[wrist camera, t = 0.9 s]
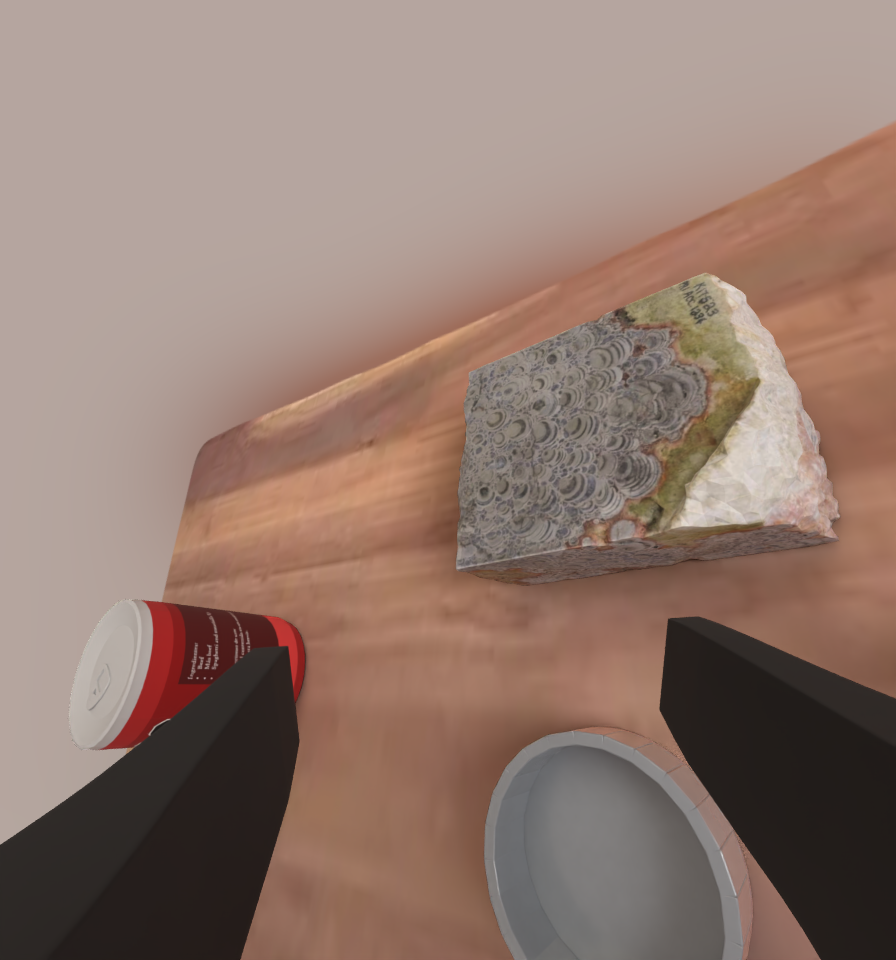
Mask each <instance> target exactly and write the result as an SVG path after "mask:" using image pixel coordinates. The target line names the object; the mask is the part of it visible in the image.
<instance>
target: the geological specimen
mask: <svg viewBox="0 0 896 960" xmlns="http://www.w3.org/2000/svg"><path fill="white" fill-rule="evenodd" d="M464 413H465V422H466V426H467V428H466V433H465V435H466V442H465V445H464V451H463V455H462V459H461V467H460V469H459V471H460V474H461V475H460V479H459V489H458V503H459V509H460V519H459V522H458V533H457V543H458V551H457V557H456V570H457V571H461V572H467V573H471V574H474V575H476V576H478V577H480V578H486V579H495V580H496V581H502V582H506V583H513V584H519V585H534V584H541V583H548V582H556V581H560V580H564V579H575V578H585V577H592V576H598V575H602V574H607V573H616V572H622V571H626V569H645V568H652V567H655V566H667V565H674V564H676V563H679V562H680V561H684V560H688V559H691V558H693V559H699V560H712V559H720V558H727V557H734V556H742V555H749V554H756V553H763V552H770V551H777V550H785V549H792V548H800V547H807V546H813V545H818V544H823V543H829V542H835V541H839V538H838V536H837V535H835V533H834V532H833V530H832V529H831V527H832V524H833V522H834V521H836V520H837V519H838V518H840V515H839V513H838V506H839V505H838V501H837V500H836V499H835V498H834V497H833V488H832V482H831V481H830V480H828V479H827V470H826V464H825V461H824V459H823V457H822V456H821V455H819V443H820V441H821V439H820V433H819V432H818V431H817V430H815V429H814V424H813V422H812V420H811V418H810V417H809V415H808V414H807V413H806V412H805V410H804V409H803V405H802V400H801V393H800V391H799V389H798V387H797V384H796V383H795V381H794V380H793V379H792V378H791V377H790V376H789V374H788V371H787V367H786V364H785V359H784V357H783V356H782V354H781V351H780V350H779V349H778V347H777V346H776V345H775V340H774V338H773V336H772V335H771V333H770V332H769V331H768V330H767V329H765V328H764V327H763V326H762V325H761V323H760V321H759V319H758V317H757V315H756V314H755V312H754V311H753V310H752V309H751V308H750V307H749V305H748V304H747V303H746V295H745V294H743V293H742V292H741V291H740V290H738V289H736V288H735V287H733V286H731V285H729V284H727V283H726V282H723V281H721V280H720V279H719V278H718V277H716V276H715V275H711V274H708V273H703V274H701V275H698V276H695V277H693V278H690V279H688V280H686V281H683V282H681V283H679V284H677V285H674V286H672V287H669V288H667V289H664V290H662V291H660V292H657V293H655V294H652V295H650V296H647V297H645V298H643V299H640V300H638V301H635V302H633V303H631V304H628V305H626V306H623V307H621V308H619V309H616V310H614V311H612V312H609V313H607V314H605V315H603V316H601V317H600V318H598V319H597V320H595V321H590V322H586V323H584V324H581V325H579V326H576V327H574V328H572V329H569V330H567V331H565V332H563V333H560V334H558V335H556V336H553V337H551V338H549V339H546V340H544V341H542V342H539V343H537V344H535V345H532V346H530V347H528V348H525V349H523V350H520V351H518V352H516V353H513V354H511V355H509V356H506V357H504V358H502V359H499V360H497V361H494V362H492V363H489V364H487V365H485V366H482V367H480V368H478V369H476V370H474V371H472V372H469V386H468V389H467V395H466V398H465V401H464Z"/></svg>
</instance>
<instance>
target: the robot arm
mask: <svg viewBox="0 0 896 960" xmlns="http://www.w3.org/2000/svg"><path fill="white" fill-rule="evenodd" d="M659 710H660V712H661V714H662V715H663V717H664V719H665V721H666V723H667V725H668V727H669V729H670V731H671V733H672V735H673V737H674V739H675V741H676V742H677V744H678V746H679V748H680V750H681V751H682V753H683V755H684V757H685V759H686V760H687V762H688V764H689V765H690V767H691V768H692V770H693V771H694V772H695V774H696V775H697V777H698V778H699V780H700V781H701V783H702V784H703V786H704V787H705V788H706V790H707V791H708V793H709V794H710V796H711V797H712V799H713V800H714V802H715V803H716V804H717V806H718V807H719V809H720V810H721V812H722V813H723V814H724V816H725V817H726V819H727V820H728V821H729V823H730V824H731V826H732V827H733V829H734V830H735V831H736V833H737V834H738V836H739V837H740V839H741V840H742V841H743V843H744V844H745V846H746V847H747V848H748V850H749V851H750V853H751V854H752V856H753V857H754V858H755V860H756V861H757V863H758V864H759V866H760V867H761V868H762V870H763V871H764V873H765V874H766V875H767V877H768V878H769V880H770V881H771V883H772V884H773V885H774V887H775V888H776V890H777V891H778V893H779V894H780V895H781V897H782V898H783V900H784V901H785V903H786V905H787V906H788V908H789V909H790V911H791V912H792V914H793V915H794V917H795V918H796V920H797V921H798V923H799V924H800V926H801V927H802V929H803V930H804V932H805V934H806V935H807V937H808V939H809V940H810V942H811V944H812V945H813V947H814V949H815V950H816V952H817V954H818V955H819V957H820V959H821V960H896V699H895V698H893V697H890V696H888V695H885V694H883V693H880V692H878V691H875V690H873V689H870V688H868V687H865V686H863V685H860V684H858V683H856V682H853V681H851V680H848V679H846V678H844V677H841V676H839V675H837V674H834V673H832V672H830V671H827V670H825V669H823V668H820V667H818V666H816V665H813V664H811V663H809V662H807V661H804V660H802V659H800V658H797V657H795V656H793V655H791V654H788V653H786V652H784V651H782V650H779V649H777V648H775V647H772V646H770V645H768V644H766V643H763V642H761V641H759V640H757V639H754V638H752V637H750V636H747V635H745V634H743V633H740V632H738V631H736V630H733V629H731V628H728V627H726V626H723V625H721V624H718V623H716V622H713V621H710V620H707V619H704V618H701V617H685V618H670V619H668V625H667V635H666V646H665V656H664V667H663V677H662V688H661V698H660V709H659ZM298 746H299V733H298V724H297V716H296V707H295V699H294V690H293V681H292V673H291V664H290V655H289V647H288V646H277V647H263V648H254V649H252V650H251V651H250V652H248V653H247V654H246V655H245V656H243V657H242V658H241V659H240V660H239V661H238V662H236V663H235V664H234V665H233V666H232V667H231V668H229V669H228V670H227V671H226V672H225V673H224V674H223V675H221V676H220V677H219V678H218V679H217V680H216V681H214V682H213V683H212V684H211V685H210V686H209V687H208V688H206V689H205V690H204V691H203V692H202V693H201V694H199V695H198V696H197V697H196V698H195V699H194V700H192V701H191V702H190V703H189V704H188V705H186V706H185V707H184V708H183V709H182V710H181V711H179V712H178V713H177V714H176V715H175V716H174V717H172V718H171V719H170V720H169V721H168V722H166V723H165V724H164V725H163V726H162V727H160V728H159V729H158V730H157V731H155V732H154V733H153V734H151V735H150V736H149V737H148V738H146V739H145V740H144V741H143V742H141V743H140V744H139V745H137V746H136V747H135V748H134V749H132V750H131V751H130V752H129V753H127V754H126V755H125V756H124V757H122V758H121V759H120V760H118V761H117V762H116V763H115V764H113V765H112V766H111V767H110V768H108V769H107V770H106V771H105V772H104V773H102V774H101V775H99V776H98V777H97V778H95V779H94V780H93V781H91V782H90V783H89V784H87V785H86V786H85V787H83V788H82V789H80V790H79V791H78V792H76V793H75V794H74V795H72V796H71V797H69V798H68V799H66V800H65V801H64V802H62V803H61V804H60V805H58V806H57V807H55V808H54V809H52V810H51V811H49V812H48V813H46V814H45V815H44V816H42V817H41V818H39V819H38V820H36V821H35V822H33V823H32V824H30V825H29V826H28V827H26V828H25V829H23V830H22V831H20V832H19V833H17V834H16V835H14V836H13V837H11V838H10V839H8V840H7V841H5V842H4V843H2V844H1V845H0V960H240V959H241V956H242V952H243V949H244V946H245V942H246V939H247V936H248V933H249V929H250V926H251V923H252V920H253V916H254V913H255V910H256V906H257V903H258V900H259V897H260V893H261V890H262V887H263V883H264V880H265V877H266V874H267V870H268V867H269V864H270V861H271V857H272V854H273V851H274V847H275V844H276V841H277V837H278V834H279V831H280V827H281V824H282V821H283V817H284V814H285V810H286V807H287V804H288V800H289V795H290V790H291V785H292V780H293V774H294V769H295V763H296V758H297V752H298Z"/></svg>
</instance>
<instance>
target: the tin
mask: <svg viewBox="0 0 896 960" xmlns="http://www.w3.org/2000/svg"><path fill="white" fill-rule="evenodd" d="M484 863H485V870H486V877H487V883H488V890H489V896H490V900H491V903H492V906H493V910H494V913H495V916H496V919H497V922H498V925H499V928H500V931H501V934H502V935H503V939H504V941H505V943H506V944H507V946H508V948H509V950H510V952H511V954H512V956H513V958H514V960H747V957H748V951H749V944H750V938H751V933H752V921H753V904H752V890H751V885H750V880H749V874H748V869H747V866H746V863H745V859H744V856H743V853H742V850H741V847H740V845H739V842H738V840H737V837H736V835H735V833H734V830H733V828H732V826H731V824H730V823H729V821H728V820H727V819H726V817H725V816H724V814H723V813H722V812H721V810H720V809H719V807H718V806H717V804H716V803H715V802H714V800H713V799H712V797H711V796H710V794H709V793H708V791H707V790H706V788H705V787H704V786H703V784H702V783H701V781H700V780H699V778H698V777H697V775H696V774H695V773H694V772H693V771H692V770H691V769H690V768H689V767H688V766H687V765H686V764H685V763H683V762H682V761H681V760H680V759H678V758H677V757H676V756H675V755H673V754H672V753H671V752H670V751H668V750H666V749H665V748H663V747H662V746H660V745H659V744H657V743H656V742H654V741H651V740H649V739H647V738H645V737H643V736H641V735H639V734H636V733H633V732H630V731H627V730H622V729H617V728H612V727H589V728H583V729H577V730H572V731H566V732H560V733H555V734H549V735H546V736H544V737H542V738H540V739H538V740H537V741H535V742H533V743H531V744H529V745H527V746H526V747H525V748H523V749H522V750H521V751H520V752H519V753H518V754H517V755H516V756H515V757H514V758H513V760H512V761H511V762H510V763H509V764H508V765H507V766H506V768H505V769H504V771H503V773H502V775H501V777H500V779H499V781H498V783H497V785H496V787H495V789H494V791H493V794H492V797H491V801H490V805H489V809H488V814H487V818H486V822H485V841H484Z"/></svg>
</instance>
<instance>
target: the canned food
mask: <svg viewBox="0 0 896 960" xmlns="http://www.w3.org/2000/svg"><path fill="white" fill-rule="evenodd" d="M277 646H288V647H289V655H290V664H291V673H292V681H293V690H294V699H295V702H296V700H297V698H298V695H299V692H300V689H301V686H302V682H303V677H304V669H305V653H304V646H303V642H302V639H301V636H300V634H299V632H298V631H297V629H296V628H295V627H294V626H293V625H292V624H290V623H288V622H286V621H285V620H283V619H281V618H279V617H271V616H264V615H256V614H248V613H240V612H233V611H225V610H217V609H210V608H202V607H194V606H187V605H179V604H171V603H163V602H154V601H143V600H126V599H125V600H122V601H119V602H118V603H116V604H115V605H113V606H112V607H111V608H110V609H109V610H108V612H107V613H106V614H105V615H104V617H103V618H102V619H101V620H100V622H99V623H98V625H97V626H96V628H95V630H94V631H93V633H92V635H91V637H90V639H89V641H88V643H87V645H86V647H85V650H84V652H83V655H82V657H81V660H80V663H79V666H78V669H77V672H76V675H75V679H74V683H73V688H72V692H71V699H70V706H69V726H70V733H71V737H72V740H73V742H74V744H75V746H76V747H78V748H79V749H81V750H89V749H90V750H104V749H116V748H117V749H118V748H131V747H136V746H137V745H139V744H140V743H141V742H143V741H144V740H145V739H146V738H148V737H149V736H150V735H151V734H153V733H154V732H155V731H157V730H158V729H159V728H160V727H162V726H163V725H164V724H165V723H166V722H168V721H169V720H170V719H171V718H172V717H174V716H175V715H176V714H177V713H178V712H179V711H181V710H182V709H183V708H184V707H185V706H186V705H188V704H189V703H190V702H191V701H192V700H194V699H195V698H196V697H197V696H198V695H199V694H201V693H202V692H203V691H204V690H205V689H206V688H208V687H209V686H210V685H211V684H212V683H213V682H214V681H216V680H217V679H218V678H219V677H220V676H221V675H223V674H224V673H225V672H226V671H227V670H228V669H229V668H231V667H232V666H233V665H234V664H235V663H236V662H238V661H239V660H240V659H241V658H242V657H243V656H245V655H246V654H247V653H248V652H250V651H251V650H252V649H254V648H263V647H277Z"/></svg>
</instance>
